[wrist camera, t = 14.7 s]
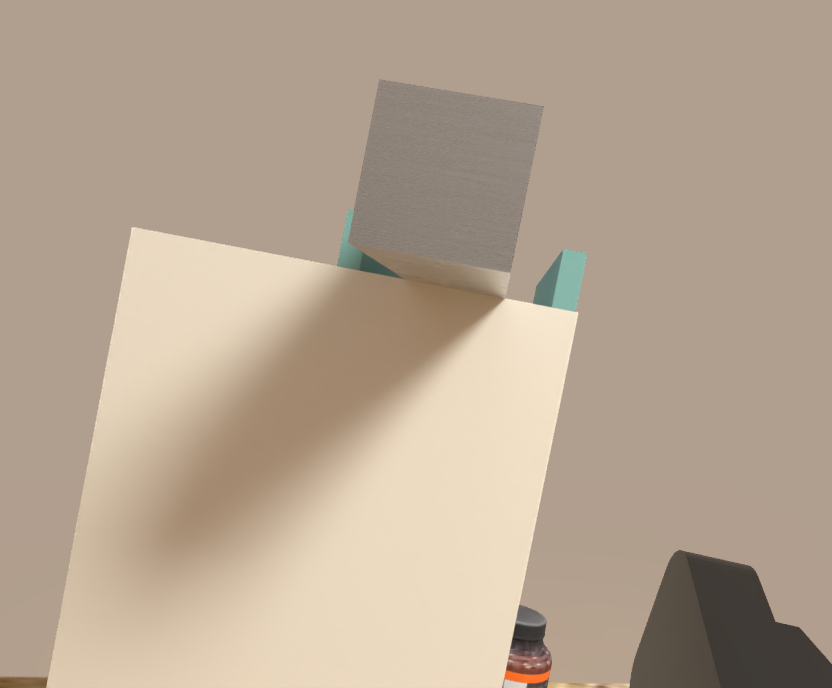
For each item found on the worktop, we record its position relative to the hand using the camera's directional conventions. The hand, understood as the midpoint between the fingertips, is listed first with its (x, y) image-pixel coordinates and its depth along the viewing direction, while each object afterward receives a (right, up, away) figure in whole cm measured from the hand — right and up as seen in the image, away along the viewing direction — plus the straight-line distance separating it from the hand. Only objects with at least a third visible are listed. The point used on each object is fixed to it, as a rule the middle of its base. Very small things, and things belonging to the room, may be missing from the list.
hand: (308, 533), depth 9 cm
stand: (-6, -27, +27) cm, 39 cm away
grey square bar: (+3, +4, +21) cm, 22 cm away
